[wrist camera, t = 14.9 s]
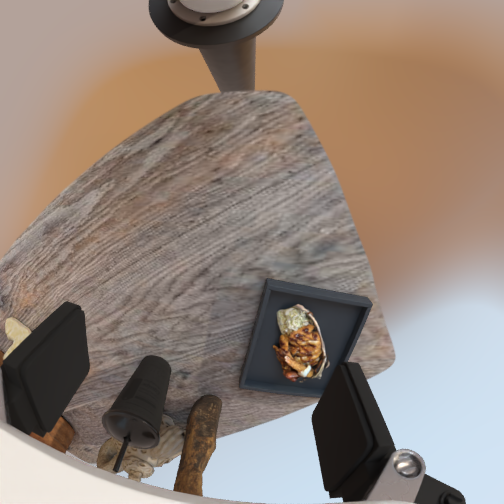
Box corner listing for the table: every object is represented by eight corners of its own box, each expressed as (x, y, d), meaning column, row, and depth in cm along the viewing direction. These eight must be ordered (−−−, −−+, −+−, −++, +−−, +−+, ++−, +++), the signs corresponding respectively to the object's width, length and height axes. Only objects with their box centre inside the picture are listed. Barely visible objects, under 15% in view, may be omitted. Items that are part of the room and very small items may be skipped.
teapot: (173, 383, 42) (150, 457, 28) (215, 423, 45) (206, 493, 31) (96, 410, 46) (68, 464, 32) (134, 443, 49) (116, 498, 34)
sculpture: (228, 416, 45) (215, 577, 16) (187, 402, 44) (153, 565, 15) (245, 392, 43) (239, 574, 14) (201, 377, 42) (165, 562, 13)
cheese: (15, 334, 44) (31, 405, 37) (-8, 324, 37) (6, 402, 31) (66, 309, 46) (86, 385, 40) (44, 296, 40) (62, 382, 34)
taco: (310, 297, 37) (315, 311, 34) (331, 364, 40) (336, 379, 37) (258, 315, 38) (259, 330, 34) (286, 378, 41) (288, 395, 38)
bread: (59, 437, 51) (42, 470, 40) (-16, 355, 44) (-42, 383, 32) (85, 432, 49) (66, 470, 37) (-1, 338, 42) (-33, 369, 30)
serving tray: (266, 277, 37) (267, 284, 35) (367, 297, 38) (373, 304, 36) (239, 378, 42) (238, 388, 40) (326, 389, 43) (328, 398, 41)
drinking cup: (126, 368, 42) (79, 463, 23) (144, 339, 40) (91, 443, 21) (167, 391, 43) (135, 492, 24) (188, 365, 41) (158, 477, 22)
